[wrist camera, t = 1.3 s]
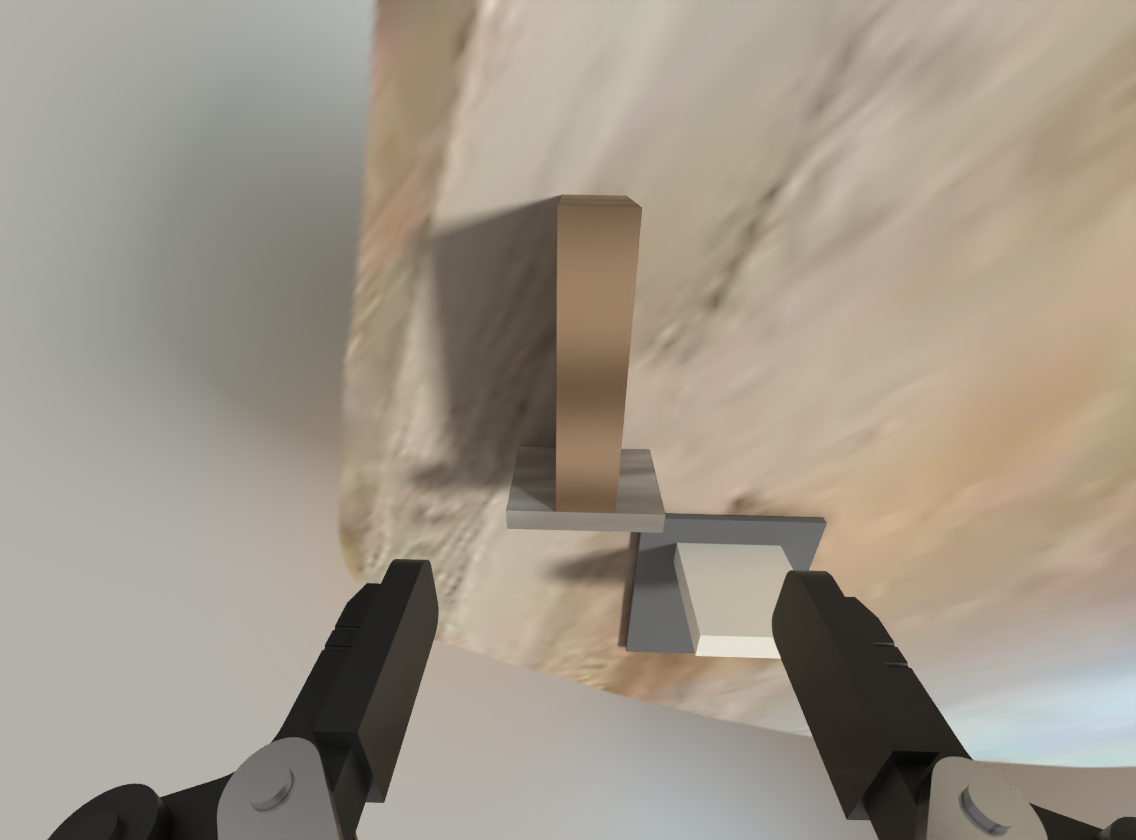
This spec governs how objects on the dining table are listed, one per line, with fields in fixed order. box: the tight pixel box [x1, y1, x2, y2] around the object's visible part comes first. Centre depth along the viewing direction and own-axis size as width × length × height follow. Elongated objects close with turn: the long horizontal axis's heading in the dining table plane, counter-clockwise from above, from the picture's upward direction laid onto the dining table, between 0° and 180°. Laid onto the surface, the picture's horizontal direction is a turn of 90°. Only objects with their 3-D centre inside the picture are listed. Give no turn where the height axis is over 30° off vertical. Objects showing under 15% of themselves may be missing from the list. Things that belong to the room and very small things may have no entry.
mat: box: [626, 514, 827, 653], centre depth 34 cm, size 14×12×1 cm
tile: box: [674, 543, 793, 658], centre depth 29 cm, size 2×7×7 cm, turn 89°
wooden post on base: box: [506, 195, 665, 533], centre depth 23 cm, size 15×8×6 cm, turn 179°
